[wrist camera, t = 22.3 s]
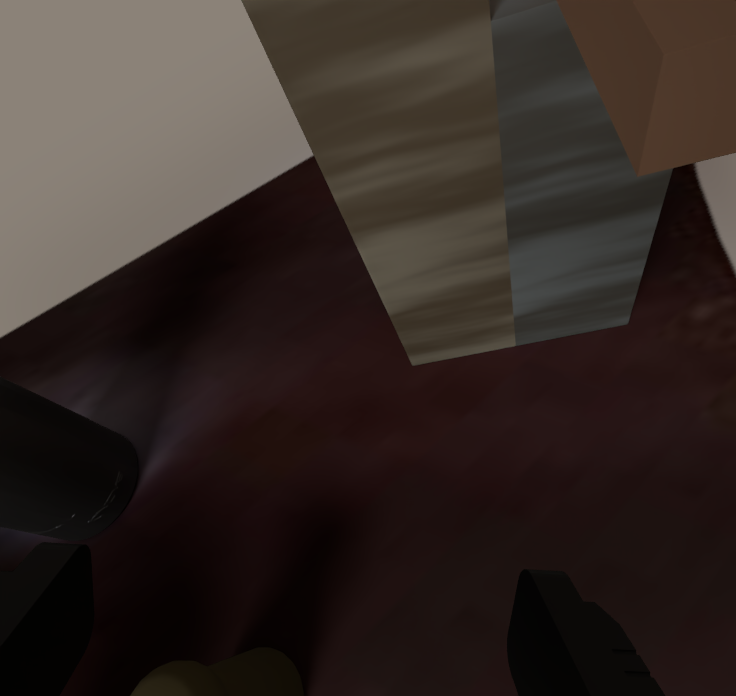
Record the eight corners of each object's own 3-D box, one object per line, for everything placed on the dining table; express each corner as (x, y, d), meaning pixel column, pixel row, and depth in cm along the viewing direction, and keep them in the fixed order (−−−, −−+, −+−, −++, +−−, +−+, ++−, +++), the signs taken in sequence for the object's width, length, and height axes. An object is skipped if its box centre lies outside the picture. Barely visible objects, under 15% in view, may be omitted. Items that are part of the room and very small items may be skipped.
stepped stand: (627, 324, 38) (844, -424, 11) (412, 365, 42) (177, -136, 14) (582, 203, 44) (653, -478, 17) (397, 248, 47) (210, -264, 20)
